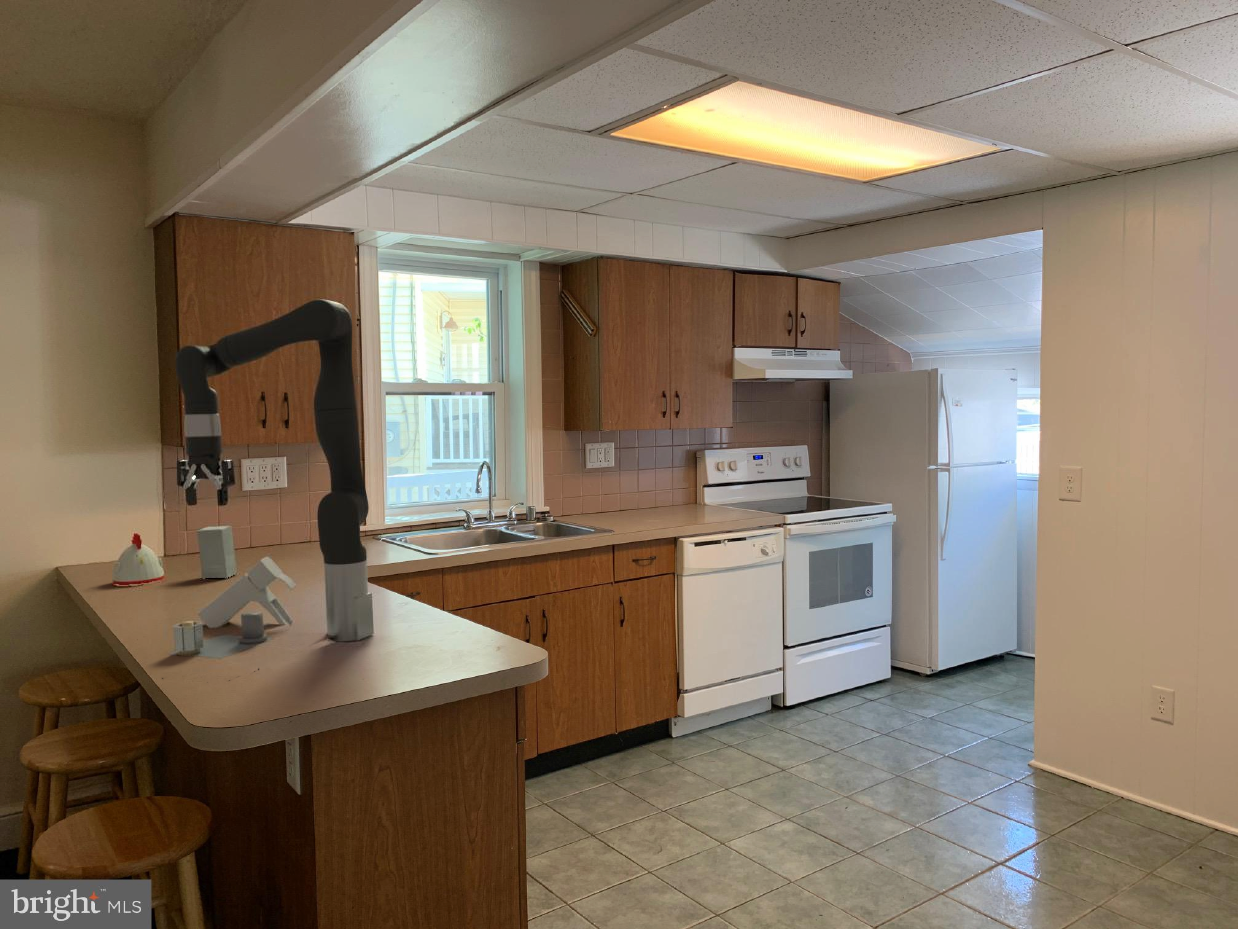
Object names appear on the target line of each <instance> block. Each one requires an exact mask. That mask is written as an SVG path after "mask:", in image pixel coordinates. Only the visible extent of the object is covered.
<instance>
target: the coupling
mask: <svg viewBox="0 0 1238 929" xmlns="http://www.w3.org/2000/svg"><path fill="white" fill-rule="evenodd" d="M192 621H193V622H194V625H193V626H186V627H182V623H183V622H179V623H175V624H173V639H174V651H182V652H183V651H192V650H197V649H200V648H203V647H204V644H203V641H204V631H203V630H204V628H203V627H204V626H203V621H202V620H199V621H197V620H192Z"/></svg>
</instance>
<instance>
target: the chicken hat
mask: <svg viewBox="0 0 1238 929" xmlns="http://www.w3.org/2000/svg"><path fill="white" fill-rule="evenodd" d="M112 572H113V574H112V585H113V584H119V585H129V584H141V583H149V582H152V581H158V580H162V579H163V578H164V579H165V572H164V566H163V562H162V558H161V557H158V556H157V554H156V553H155V552H154V551H153V550H152V549H151V548H149V547H148V546H147V545H145V544H142V539H141V534H139V533H133V536H132V539H131V545H129V546H127V548H126V549H124V550H123V551H122V553H121V554H120V555H119V557H118V559H117V561H114V563H113V570H112Z"/></svg>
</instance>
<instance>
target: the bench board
mask: <svg viewBox="0 0 1238 929" xmlns="http://www.w3.org/2000/svg"><path fill="white" fill-rule="evenodd" d="M240 619H241V620H240V623H241V635H234V634H232V635H230V634H221V635H218V636H214V637H212V638H209V639H205V640H203V644H204V647H203V648H200V649H197V650H192V651H183V652H182V651H175V650H174V651H172V652H168V653H167V655H172V656H185V657H187V656H188V657H196V658H198V657H200V658H210V659H212V658H213V659H225V658H227V657H229V656H232V655H234V654H236V653H239V652H242V651H245V650H247V649H250V648H253V647H256V646H259V645H261V644H263V643H266V642H269V641H272V640H274V639H275V638H272V637H267V636H268V634H267V633H264V632H265V630H264V613H263V612H262V611H249V612H244V613H241V614H240ZM193 621H194V620H188V621H183V622H181V623H182V627H186V626H193V625H194V622H193Z"/></svg>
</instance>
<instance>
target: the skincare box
mask: <svg viewBox="0 0 1238 929" xmlns="http://www.w3.org/2000/svg"><path fill="white" fill-rule="evenodd" d="M232 528H233V526H232V525H222V526H221V525H220V526H206V527H204V528H201V529H198V530H197V531H196V534H197V535H196V536H197V544H198V550H199V552H198V553H199V560H200V569H201V577H202V578H225V579H229V578H231V576H232V577H234V576H233V575H235V574H236V575H237V574H238V572H237V571H238V570H237V561H236V554H235V546H234V545H235V544H234V536H233V529H232ZM236 575H235V576H236ZM228 577H229V578H228ZM202 578H201V579H202Z"/></svg>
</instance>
